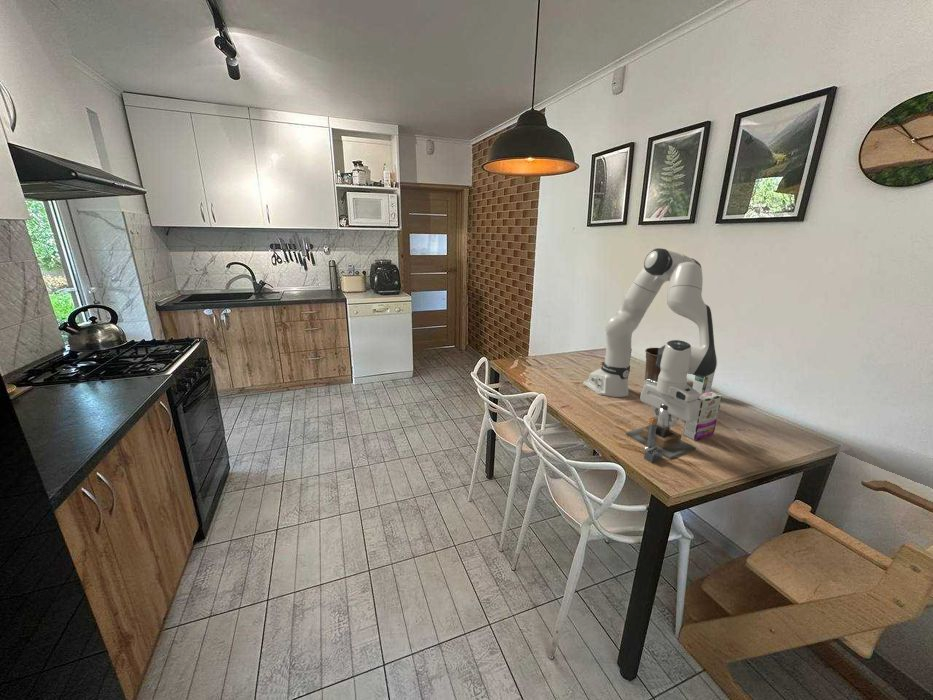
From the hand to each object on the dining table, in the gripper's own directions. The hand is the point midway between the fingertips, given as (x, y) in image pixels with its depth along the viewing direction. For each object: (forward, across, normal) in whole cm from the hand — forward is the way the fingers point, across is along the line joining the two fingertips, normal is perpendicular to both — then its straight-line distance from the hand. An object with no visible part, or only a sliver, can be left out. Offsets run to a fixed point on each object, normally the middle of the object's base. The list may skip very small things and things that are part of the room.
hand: (664, 422), depth 131 cm
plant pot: (+8, -41, +54) cm, 68 cm away
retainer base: (+8, +6, -12) cm, 16 cm away
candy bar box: (+8, +3, +18) cm, 20 cm away
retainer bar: (+4, +5, -12) cm, 14 cm away
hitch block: (+8, 0, 0) cm, 8 cm away
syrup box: (+8, -20, +56) cm, 60 cm away
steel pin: (+5, 0, 0) cm, 5 cm away
